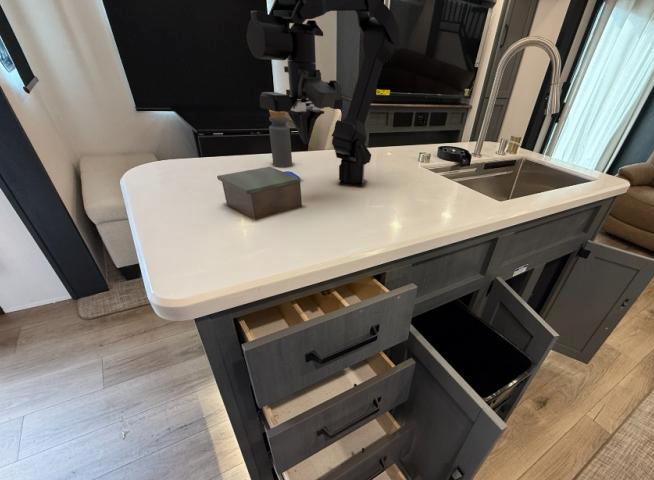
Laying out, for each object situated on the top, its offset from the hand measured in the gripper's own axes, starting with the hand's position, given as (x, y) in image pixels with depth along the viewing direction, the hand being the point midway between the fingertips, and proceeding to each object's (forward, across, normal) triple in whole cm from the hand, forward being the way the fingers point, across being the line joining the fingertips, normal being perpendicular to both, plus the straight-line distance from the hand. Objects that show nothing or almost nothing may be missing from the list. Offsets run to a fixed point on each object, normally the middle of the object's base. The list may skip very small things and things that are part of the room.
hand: (306, 143), depth 76 cm
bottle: (+12, +10, +25) cm, 30 cm away
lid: (+6, -13, 0) cm, 15 cm away
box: (+12, -13, 0) cm, 18 cm away
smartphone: (+12, -2, +15) cm, 19 cm away
